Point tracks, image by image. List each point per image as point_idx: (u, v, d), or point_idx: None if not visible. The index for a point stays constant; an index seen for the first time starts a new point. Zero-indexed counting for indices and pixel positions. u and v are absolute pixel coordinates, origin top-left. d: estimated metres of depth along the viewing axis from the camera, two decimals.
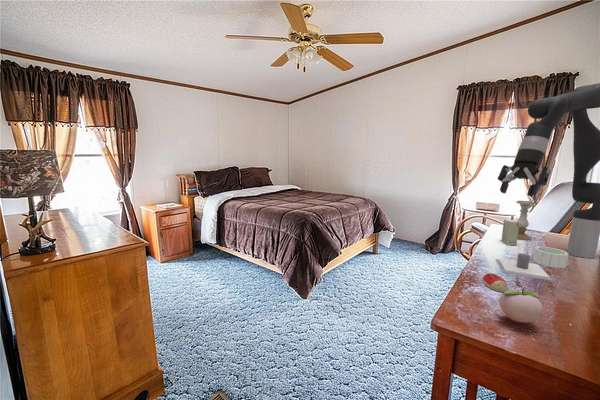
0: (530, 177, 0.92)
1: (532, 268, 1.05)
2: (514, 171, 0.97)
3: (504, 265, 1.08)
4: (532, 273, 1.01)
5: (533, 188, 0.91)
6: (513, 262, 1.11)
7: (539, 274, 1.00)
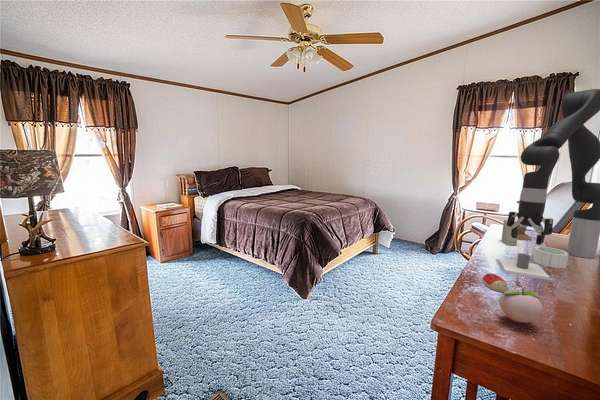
0: (535, 228, 1.00)
1: (532, 268, 1.05)
2: (520, 220, 1.05)
3: (504, 265, 1.08)
4: (532, 273, 1.01)
5: (540, 238, 0.99)
6: (513, 262, 1.11)
7: (539, 274, 1.00)
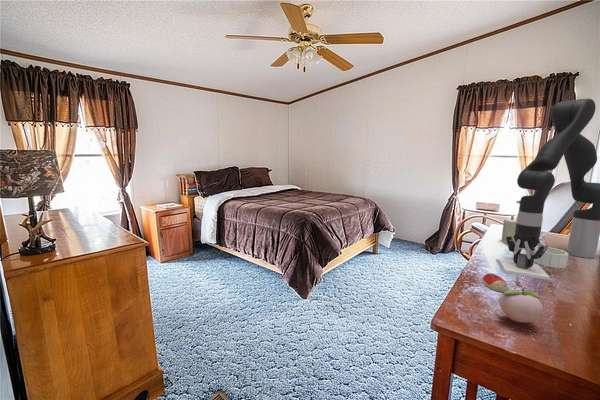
0: (527, 251, 1.03)
1: (532, 268, 1.05)
2: (518, 243, 1.06)
3: (504, 265, 1.08)
4: (532, 273, 1.01)
5: (529, 262, 1.03)
6: (513, 262, 1.11)
7: (539, 274, 1.00)
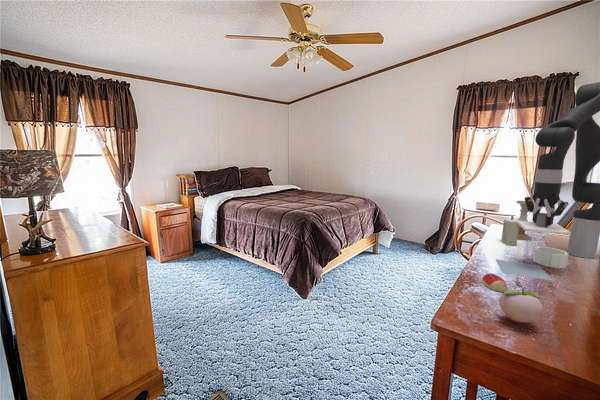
0: (547, 209, 1.03)
1: (552, 226, 1.05)
2: (537, 202, 1.06)
3: (523, 225, 1.08)
4: (552, 230, 1.01)
5: (549, 219, 1.03)
6: (532, 223, 1.11)
7: (560, 230, 1.00)
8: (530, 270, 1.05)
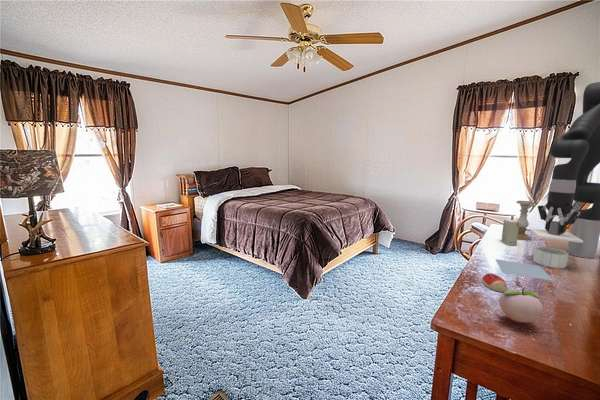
0: (560, 218, 1.07)
1: (564, 234, 1.09)
2: (550, 211, 1.10)
3: (536, 232, 1.12)
4: (565, 238, 1.05)
5: (562, 228, 1.07)
6: (544, 230, 1.15)
7: (572, 238, 1.04)
8: (530, 270, 1.05)
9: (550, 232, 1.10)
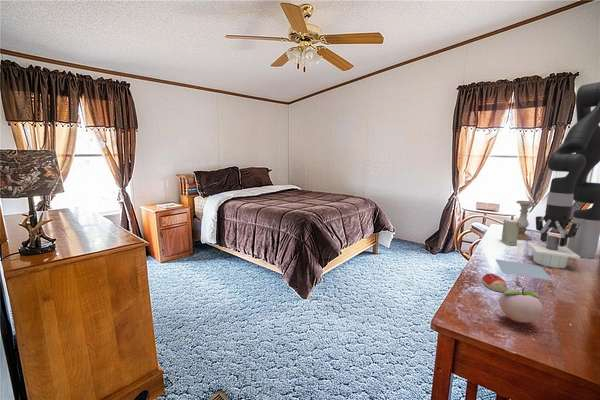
0: (560, 231, 1.07)
1: (562, 249, 1.10)
2: (548, 223, 1.11)
3: (534, 247, 1.13)
4: (563, 253, 1.06)
5: (563, 240, 1.07)
6: (542, 245, 1.16)
7: (570, 254, 1.05)
8: (530, 270, 1.05)
9: (548, 247, 1.11)
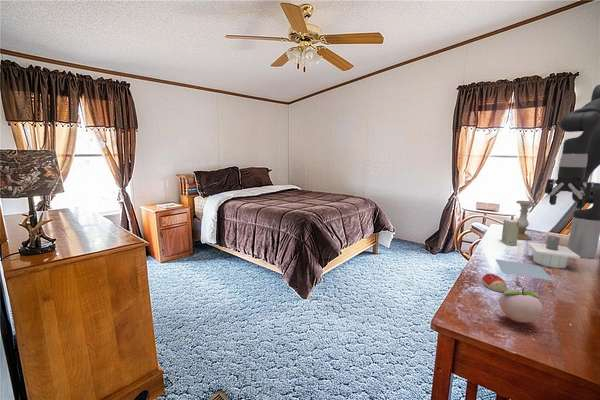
0: (576, 192, 1.03)
1: (562, 249, 1.10)
2: (559, 186, 1.07)
3: (534, 247, 1.13)
4: (563, 253, 1.06)
5: (581, 202, 1.02)
6: (542, 245, 1.16)
7: (570, 254, 1.05)
8: (530, 270, 1.05)
9: (548, 247, 1.11)
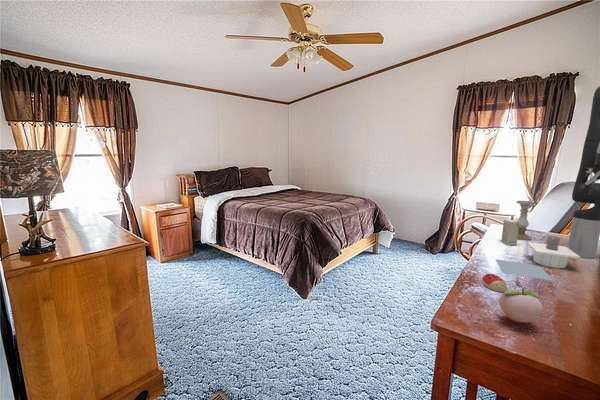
0: None
1: (562, 249, 1.10)
2: (597, 174, 1.00)
3: (534, 247, 1.13)
4: (563, 253, 1.06)
5: None
6: (542, 245, 1.16)
7: (570, 254, 1.05)
8: (530, 270, 1.05)
9: (548, 247, 1.11)
